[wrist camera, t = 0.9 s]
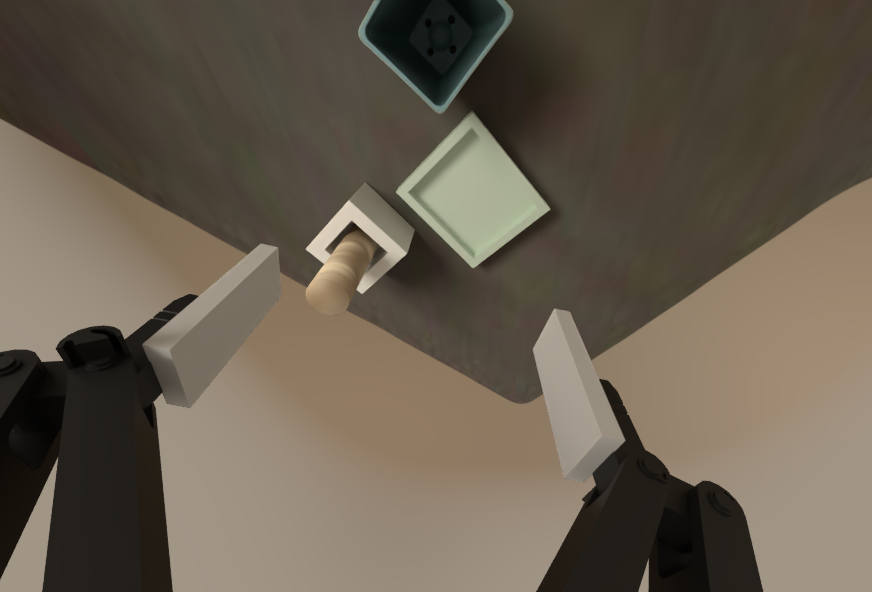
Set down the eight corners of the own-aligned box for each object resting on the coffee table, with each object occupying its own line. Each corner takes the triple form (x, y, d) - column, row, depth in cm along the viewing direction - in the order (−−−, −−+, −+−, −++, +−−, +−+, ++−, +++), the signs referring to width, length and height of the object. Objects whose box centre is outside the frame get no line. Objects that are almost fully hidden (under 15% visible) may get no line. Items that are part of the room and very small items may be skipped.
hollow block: (326, 226, 45) (305, 249, 39) (365, 182, 41) (348, 200, 35) (374, 267, 48) (362, 293, 42) (414, 229, 44) (407, 253, 38)
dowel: (347, 229, 44) (297, 297, 31) (366, 209, 42) (321, 272, 29) (370, 249, 45) (332, 322, 32) (389, 231, 44) (357, 300, 30)
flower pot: (434, -55, 29) (424, -98, 22) (505, 27, 32) (517, 14, 24) (379, 42, 33) (354, 34, 26) (445, 107, 36) (440, 117, 28)
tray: (399, 186, 41) (395, 192, 39) (472, 109, 36) (472, 112, 34) (472, 260, 46) (473, 268, 44) (546, 202, 41) (550, 209, 39)
